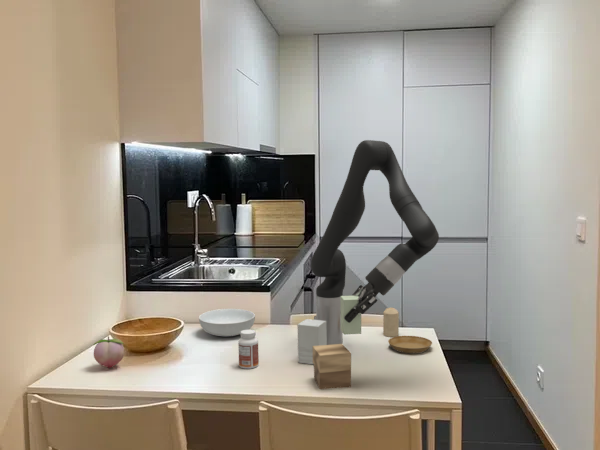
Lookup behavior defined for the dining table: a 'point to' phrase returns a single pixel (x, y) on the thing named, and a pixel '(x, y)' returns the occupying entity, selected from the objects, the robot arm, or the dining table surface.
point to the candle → (390, 322)
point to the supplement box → (310, 338)
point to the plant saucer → (410, 344)
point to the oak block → (331, 358)
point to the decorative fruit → (109, 352)
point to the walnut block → (332, 379)
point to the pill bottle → (248, 349)
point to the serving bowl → (226, 321)
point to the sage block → (346, 306)
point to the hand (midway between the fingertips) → (344, 317)
